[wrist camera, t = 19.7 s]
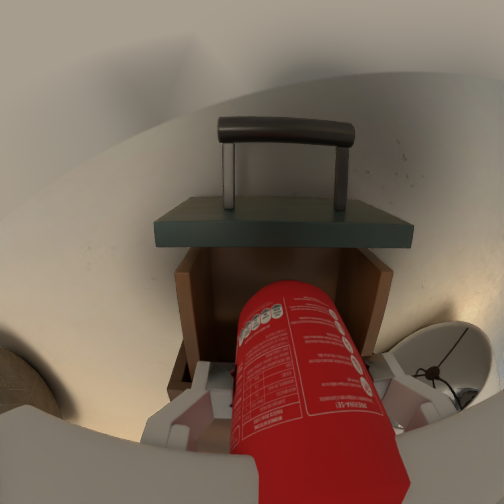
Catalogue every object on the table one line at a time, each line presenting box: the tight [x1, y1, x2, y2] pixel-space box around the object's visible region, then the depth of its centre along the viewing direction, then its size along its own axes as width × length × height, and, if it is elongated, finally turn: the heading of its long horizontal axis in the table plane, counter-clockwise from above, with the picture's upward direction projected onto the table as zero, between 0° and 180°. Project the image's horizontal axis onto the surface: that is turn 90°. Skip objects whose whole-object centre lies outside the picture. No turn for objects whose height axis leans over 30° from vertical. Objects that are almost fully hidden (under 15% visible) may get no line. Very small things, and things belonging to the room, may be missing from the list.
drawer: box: [154, 116, 414, 382], centre depth 17 cm, size 19×12×8 cm, turn 0°
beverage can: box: [229, 279, 411, 504], centre depth 9 cm, size 5×5×12 cm
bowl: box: [0, 348, 62, 419], centre depth 21 cm, size 21×21×15 cm
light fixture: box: [387, 321, 500, 435], centre depth 21 cm, size 17×19×34 cm
